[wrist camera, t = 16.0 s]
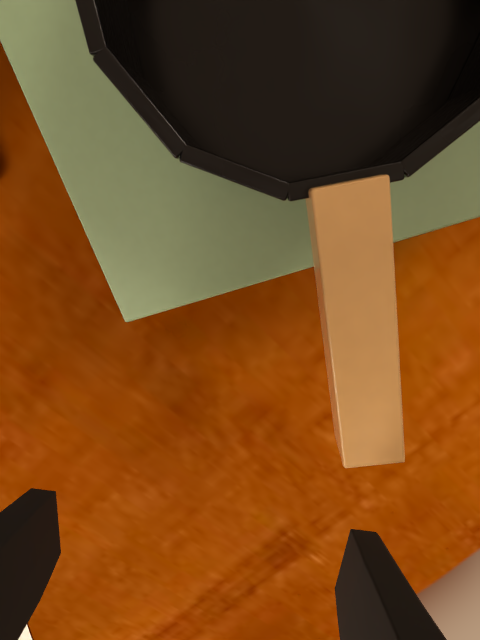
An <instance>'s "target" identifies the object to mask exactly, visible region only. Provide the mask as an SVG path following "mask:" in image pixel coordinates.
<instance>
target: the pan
mask: <svg viewBox="0 0 480 640" xmlns="http://www.w3.org/2000/svg"><path fill="white" fill-rule="evenodd" d="M75 1H76V5H77V9H78V12H79V16H80V20H81V24H82V27H83V31H84V35H85V38H86V42H87V46H88V50H89V53H90V55H92V56H93V61H94V62H95V63H96V65H97V66H98V67H99V68H100V69H101V71H102V72H103V73H104V74H105V75H106V77H107V78H108V79H109V80H110V81H111V83H112V84H113V85H114V86H115V87H116V89H117V90H118V91H119V92H120V93H121V95H122V96H123V97H124V98H125V99H126V101H127V102H128V103H129V104H130V105H131V106H132V108H133V109H134V110H135V111H136V112H137V114H138V115H139V116H140V117H141V118H142V120H143V121H144V122H145V123H146V124H147V126H148V127H149V128H150V129H151V130H152V132H153V133H154V134H155V135H156V136H157V138H158V139H159V140H160V141H161V142H162V144H163V145H164V146H165V147H166V148H167V150H168V151H169V152H170V153H171V154H172V155H173V157H174V158H176V159H179V161H180V162H181V163H184V164H186V165H189V166H192V167H194V168H197V169H200V170H202V171H205V172H208V173H210V174H213V175H216V176H218V177H221V178H224V179H226V180H229V181H232V182H234V183H237V184H240V185H242V186H245V187H248V188H250V189H253V190H256V191H258V192H261V193H264V194H266V195H269V196H272V197H274V198H277V199H280V200H282V201H285V200H286V199H287V200H288V201H296V200H301V199H306V206H307V214H308V222H309V230H310V238H311V246H312V254H313V262H314V270H315V278H316V286H317V294H318V303H319V311H320V319H321V327H322V335H323V343H324V351H325V359H326V367H327V375H328V383H329V391H330V399H331V407H332V415H333V423H334V431H335V438H336V441H337V445H338V449H339V452H340V456H341V459H342V463H343V466H344V467H345V468H352V467H361V466H371V465H380V464H390V463H400V462H404V461H405V452H404V434H403V415H402V397H401V379H400V360H399V342H398V324H397V305H396V287H395V269H394V251H393V232H392V214H391V196H390V183H391V182H396V181H401V180H403V179H404V177H410V176H411V175H413V174H414V173H415V172H416V171H418V170H419V169H420V168H421V167H423V166H424V165H425V164H426V163H428V162H429V161H430V160H432V159H433V158H434V157H435V156H437V155H438V154H439V153H440V152H442V151H443V150H444V149H445V148H447V147H448V146H449V145H450V144H452V143H453V142H454V141H455V140H457V139H458V138H459V137H460V136H462V135H463V134H464V133H466V132H467V131H468V130H469V129H471V128H472V127H473V126H474V125H476V124H477V123H478V122H479V121H480V0H75Z"/></svg>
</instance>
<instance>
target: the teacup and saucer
mask: <svg viewBox="0 0 480 640" xmlns="http://www.w3.org/2000/svg"><path fill="white" fill-rule="evenodd" d="M18 640H32V638H31V635H30V632H29V629H28V626H27V625H26V627H25V628H24V630H23V632H22V634H21V636H20V637H19V639H18Z"/></svg>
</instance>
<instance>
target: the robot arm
mask: <svg viewBox="0 0 480 640" xmlns="http://www.w3.org/2000/svg"><path fill="white" fill-rule="evenodd" d="M60 553H61V549H60V537H59V525H58V513H57V501H56V491H48V490H40V489H33V488H31V489H30V490H29V491H27V492H26V493H25V494H23V495H22V496H21V497H19V498H18V499H17V500H15V501H14V502H13V503H12V504H10V505H9V506H8V507H7V508H5V509H4V510H3V511H2V512H0V640H18V639H19V637H20V636H21V634H22V632H23V630H24V628H25V627H26V625H27V623H28V621H29V619H30V618H31V616H32V614H33V612H34V610H35V608H36V607H37V605H38V603H39V601H40V599H41V597H42V595H43V592H44V590H45V588H46V586H47V584H48V581H49V579H50V577H51V575H52V572H53V570H54V568H55V565H56V563H57V560H58V558H59V556H60ZM335 595H336V605H337V616H338V625H339V634H340V640H446V638H445V637H444V635H443V634H442V632H441V631H440V629H439V628H438V626H437V625H436V623H435V622H434V621H433V619H432V618H431V616H430V615H429V613H428V612H427V610H426V609H425V607H424V606H423V604H422V603H421V601H420V600H419V598H418V597H417V595H416V594H415V592H414V590H413V589H412V587H411V586H410V584H409V583H408V581H407V580H406V578H405V576H404V575H403V573H402V572H401V570H400V568H399V567H398V565H397V564H396V562H395V560H394V559H393V557H392V556H391V554H390V552H389V551H388V549H387V548H386V546H385V544H384V543H383V541H382V540H381V538H380V536H379V535H378V534H377V533H376V532H371V531H363V530H355V529H351V530H350V534H349V537H348V541H347V545H346V549H345V552H344V556H343V560H342V564H341V567H340V571H339V575H338V579H337V582H336V586H335Z"/></svg>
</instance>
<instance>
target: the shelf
mask: <svg viewBox="0 0 480 640" xmlns="http://www.w3.org/2000/svg"><path fill="white" fill-rule="evenodd" d="M0 41H1V43H2V46H3V48H4V50H5V52H6V55H7V57H8V59H9V61H10V64H11V66H12V68H13V70H14V73H15V75H16V77H17V79H18V82H19V84H20V86H21V88H22V91H23V93H24V95H25V97H26V100H27V102H28V104H29V106H30V109H31V111H32V113H33V115H34V118H35V120H36V122H37V124H38V127H39V129H40V131H41V133H42V136H43V138H44V140H45V142H46V145H47V147H48V149H49V151H50V154H51V156H52V158H53V160H54V163H55V165H56V167H57V169H58V172H59V174H60V176H61V178H62V181H63V183H64V185H65V187H66V190H67V192H68V194H69V196H70V199H71V201H72V203H73V205H74V208H75V210H76V212H77V214H78V217H79V219H80V221H81V223H82V226H83V228H84V230H85V232H86V235H87V237H88V239H89V241H90V244H91V246H92V248H93V250H94V253H95V255H96V257H97V259H98V262H99V264H100V266H101V268H102V271H103V273H104V275H105V277H106V280H107V282H108V284H109V286H110V289H111V291H112V293H113V295H114V298H115V300H116V302H117V304H118V307H119V309H120V311H121V313H122V316H123V318H124V320H125V322H130V321H133V320H137V319H140V318H143V317H147V316H150V315H153V314H157V313H160V312H163V311H167V310H170V309H174V308H177V307H180V306H184V305H187V304H190V303H194V302H197V301H200V300H204V299H207V298H210V297H214V296H217V295H220V294H224V293H227V292H230V291H234V290H237V289H240V288H244V287H247V286H250V285H254V284H257V283H260V282H264V281H267V280H270V279H274V278H277V277H280V276H284V275H287V274H290V273H294V272H297V271H300V270H304V269H307V268H311V267H314V262H313V254H312V246H311V238H310V230H309V222H308V214H307V206H306V199H301V200H296V201H288V200H287V199H286V200H285V201H282V200H280V199H277V198H274V197H272V196H269V195H266V194H264V193H261V192H258V191H256V190H253V189H250V188H248V187H245V186H242V185H240V184H237V183H234V182H232V181H229V180H226V179H224V178H221V177H218V176H216V175H213V174H210V173H208V172H205V171H202V170H200V169H197V168H194V167H192V166H189V165H186V164H184V163H181V162H180V161H179V159H176V158H174V157H173V155H172V154H171V153H170V152H169V151H168V150H167V148H166V147H165V146H164V145H163V144H162V142H161V141H160V140H159V139H158V138H157V136H156V135H155V134H154V133H153V132H152V130H151V129H150V128H149V127H148V126H147V124H146V123H145V122H144V121H143V120H142V118H141V117H140V116H139V115H138V114H137V112H136V111H135V110H134V109H133V108H132V106H131V105H130V104H129V103H128V102H127V101H126V99H125V98H124V97H123V96H122V95H121V93H120V92H119V91H118V90H117V89H116V87H115V86H114V85H113V84H112V83H111V81H110V80H109V79H108V78H107V77H106V75H105V74H104V73H103V72H102V71H101V69H100V68H99V67H98V66H97V65H96V63H95V62H94V61H93V56H92V55H90V53H89V50H88V46H87V42H86V38H85V35H84V31H83V27H82V24H81V20H80V16H79V12H78V9H77V5H76V1H75V0H0ZM390 196H391V214H392V232H393V243H394V242H397V241H401V240H404V239H407V238H411V237H414V236H417V235H421V234H424V233H427V232H431V231H434V230H437V229H441V228H444V227H447V226H451V225H454V224H458V223H461V222H464V221H468V220H471V219H474V218H478V217H480V121H479V122H478V123H477V124H476V125H474V126H473V127H472V128H471V129H469V130H468V131H467V132H466V133H464V134H463V135H462V136H460V137H459V138H458V139H457V140H455V141H454V142H453V143H452V144H450V145H449V146H448V147H447V148H445V149H444V150H443V151H442V152H440V153H439V154H438V155H437V156H435V157H434V158H433V159H432V160H430V161H429V162H428V163H426V164H425V165H424V166H423V167H421V168H420V169H419V170H418V171H416V172H415V173H414V174H413V175H411V176H410V177H404V179H403V180H401V181H396V182H391V183H390Z"/></svg>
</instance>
